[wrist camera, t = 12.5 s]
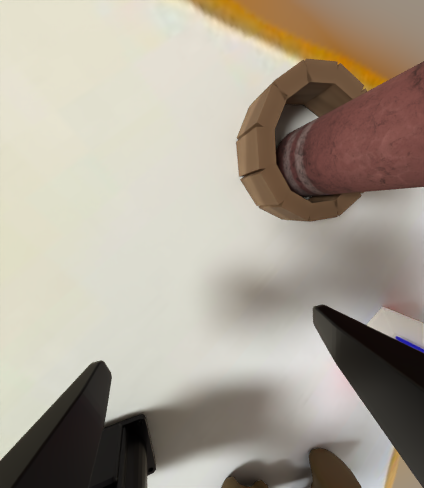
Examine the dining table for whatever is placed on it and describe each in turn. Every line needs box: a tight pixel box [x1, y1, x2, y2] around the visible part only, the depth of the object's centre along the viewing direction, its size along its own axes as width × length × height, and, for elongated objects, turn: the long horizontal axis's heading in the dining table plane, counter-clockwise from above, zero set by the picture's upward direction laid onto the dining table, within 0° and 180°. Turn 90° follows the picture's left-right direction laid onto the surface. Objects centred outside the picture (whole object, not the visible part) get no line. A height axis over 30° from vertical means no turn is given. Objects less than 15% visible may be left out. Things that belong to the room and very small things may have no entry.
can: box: [276, 62, 424, 197], centre depth 14 cm, size 6×6×14 cm
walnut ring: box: [236, 59, 367, 221], centre depth 18 cm, size 12×12×4 cm
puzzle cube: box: [367, 306, 424, 353], centre depth 25 cm, size 8×8×8 cm
